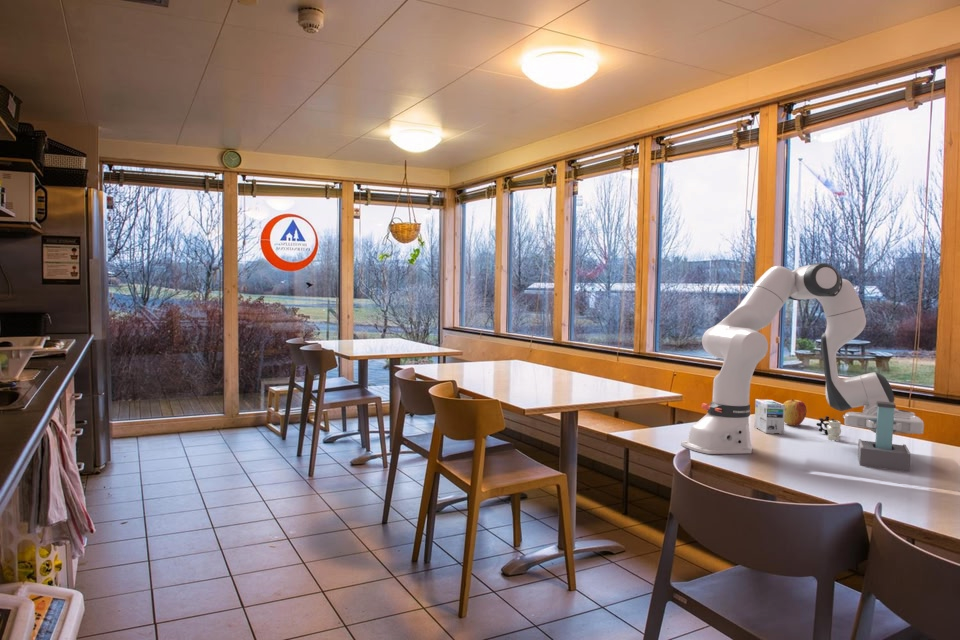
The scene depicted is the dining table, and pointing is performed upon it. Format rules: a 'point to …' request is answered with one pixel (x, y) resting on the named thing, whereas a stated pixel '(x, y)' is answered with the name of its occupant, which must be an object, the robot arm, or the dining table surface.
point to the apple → (794, 412)
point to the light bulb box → (769, 416)
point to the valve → (830, 428)
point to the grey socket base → (884, 456)
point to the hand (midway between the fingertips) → (884, 427)
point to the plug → (884, 424)
